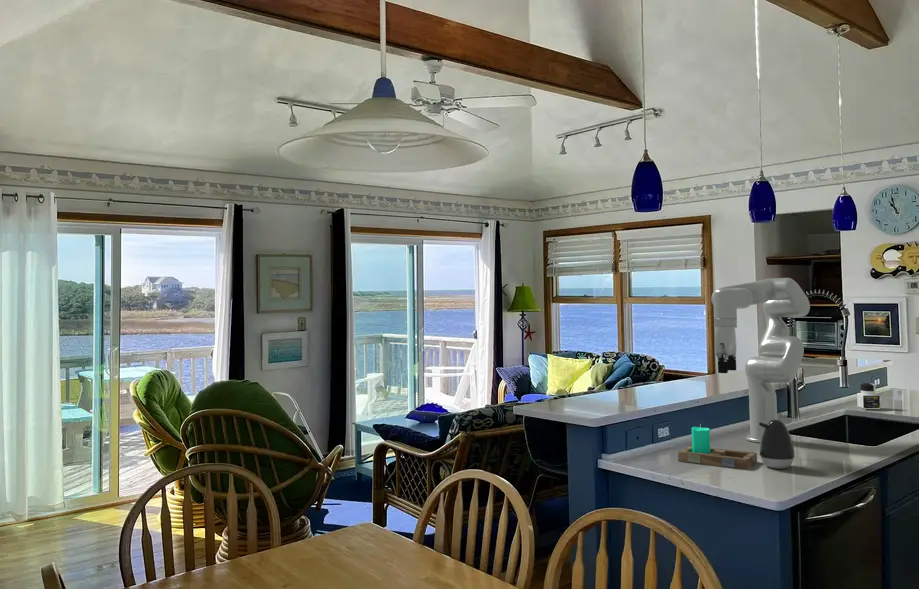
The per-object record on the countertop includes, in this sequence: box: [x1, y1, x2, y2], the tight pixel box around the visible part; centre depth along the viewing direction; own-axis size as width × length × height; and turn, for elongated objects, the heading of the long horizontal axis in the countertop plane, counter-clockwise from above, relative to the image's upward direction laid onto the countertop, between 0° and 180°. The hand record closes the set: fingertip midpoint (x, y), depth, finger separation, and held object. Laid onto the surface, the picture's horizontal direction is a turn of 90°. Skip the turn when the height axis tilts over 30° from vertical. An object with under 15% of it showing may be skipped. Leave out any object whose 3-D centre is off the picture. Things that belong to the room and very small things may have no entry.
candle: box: [691, 423, 711, 454], centre depth 232 cm, size 6×6×12 cm
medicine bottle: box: [856, 382, 881, 409], centre depth 319 cm, size 7×7×12 cm
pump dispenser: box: [759, 419, 796, 470], centre depth 219 cm, size 10×10×15 cm
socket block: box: [677, 445, 758, 470], centre depth 228 cm, size 12×22×3 cm, turn 52°
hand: (727, 371), depth 243 cm, fingers open, 9 cm apart
